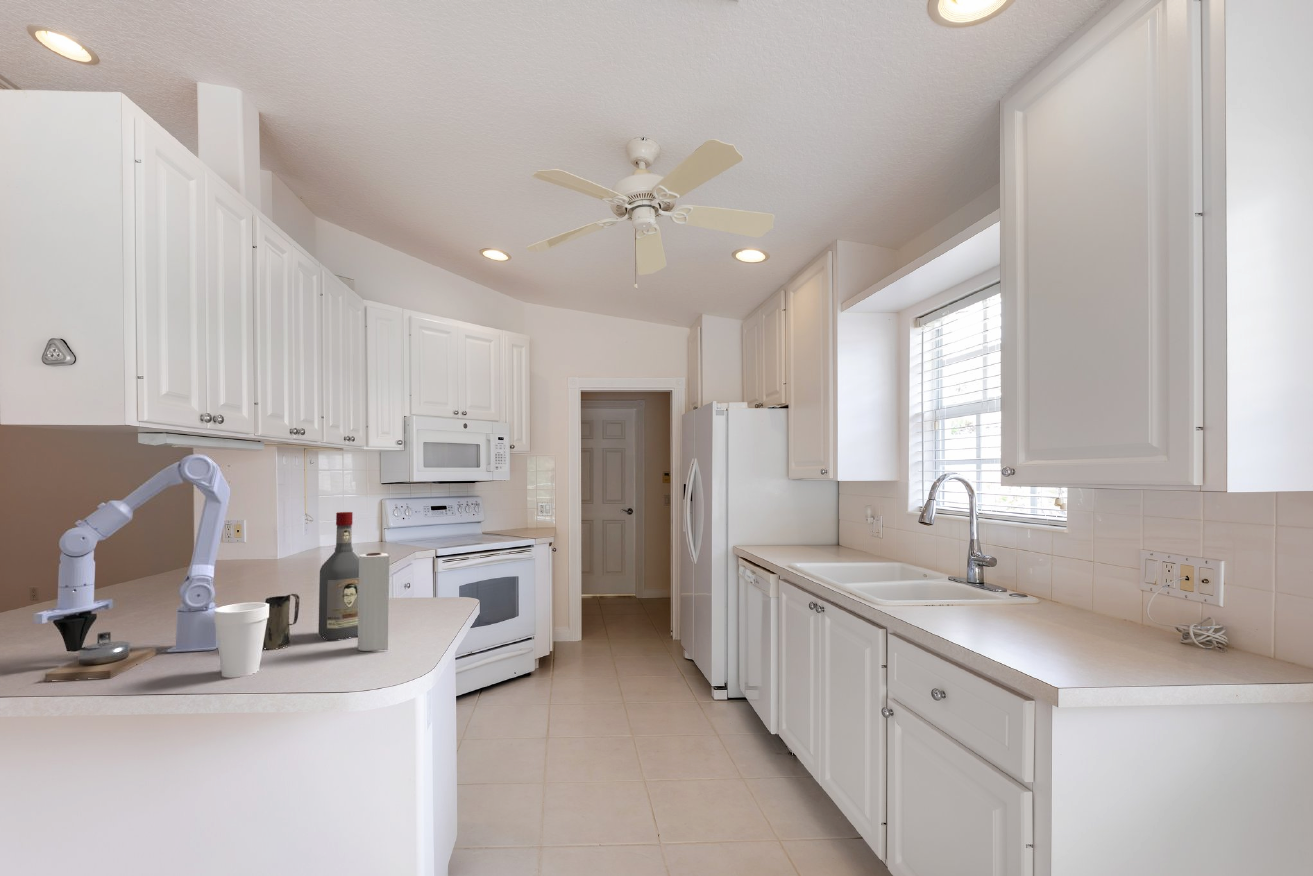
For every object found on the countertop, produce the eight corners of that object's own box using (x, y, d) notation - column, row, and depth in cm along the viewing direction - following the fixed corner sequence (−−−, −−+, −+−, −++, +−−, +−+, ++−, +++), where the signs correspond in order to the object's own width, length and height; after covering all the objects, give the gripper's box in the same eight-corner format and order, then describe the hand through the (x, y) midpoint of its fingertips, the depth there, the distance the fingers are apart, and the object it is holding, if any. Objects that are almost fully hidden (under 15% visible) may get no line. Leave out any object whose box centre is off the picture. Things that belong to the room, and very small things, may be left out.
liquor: (315, 635, 160) (318, 512, 161) (353, 628, 167) (356, 510, 168) (329, 642, 154) (332, 514, 155) (368, 635, 160) (370, 512, 162)
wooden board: (155, 655, 144) (156, 647, 144) (110, 678, 128) (110, 669, 128) (98, 658, 141) (98, 650, 141) (44, 682, 126) (45, 673, 126)
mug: (256, 649, 148) (257, 595, 149) (274, 642, 154) (275, 591, 154) (288, 650, 147) (289, 596, 147) (304, 644, 152) (305, 592, 153)
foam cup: (204, 682, 126) (206, 613, 126) (221, 667, 135) (223, 604, 135) (260, 677, 128) (262, 610, 129) (273, 663, 137) (275, 601, 138)
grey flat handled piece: (130, 659, 134) (130, 643, 134) (78, 667, 129) (78, 650, 129) (127, 644, 146) (127, 629, 146) (79, 650, 140) (79, 635, 141)
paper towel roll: (356, 646, 150) (358, 553, 151) (385, 643, 153) (386, 551, 154) (358, 654, 144) (360, 556, 145) (388, 651, 147) (389, 555, 148)
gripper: (94, 578, 145) (92, 640, 144) (22, 590, 131) (19, 659, 130) (122, 579, 144) (120, 642, 143) (52, 592, 129) (49, 661, 129)
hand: (73, 650), depth 137 cm, fingers closed
